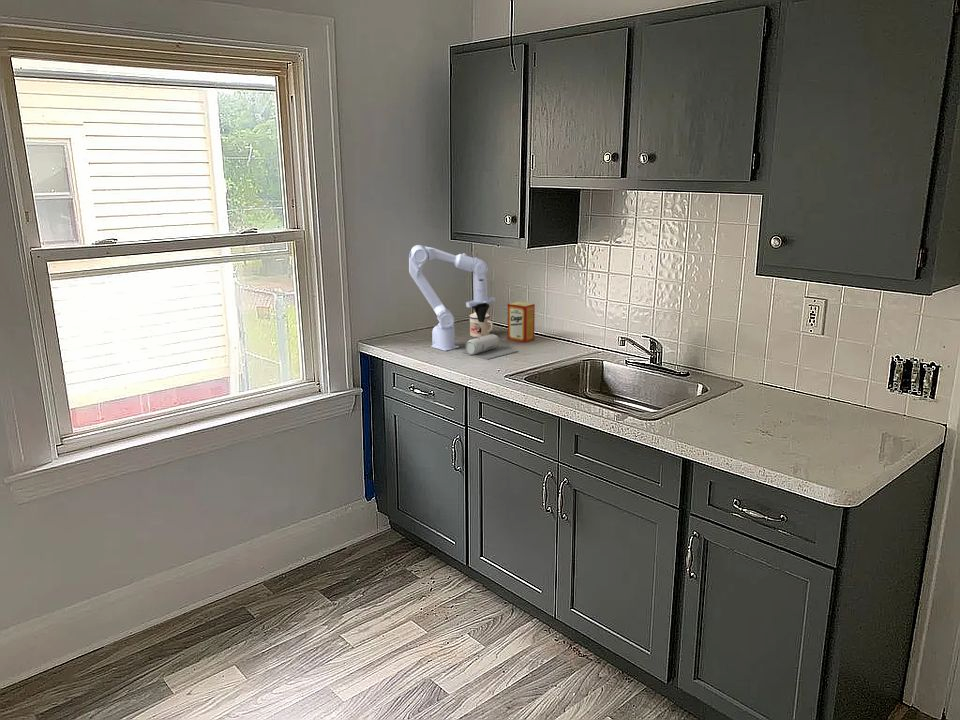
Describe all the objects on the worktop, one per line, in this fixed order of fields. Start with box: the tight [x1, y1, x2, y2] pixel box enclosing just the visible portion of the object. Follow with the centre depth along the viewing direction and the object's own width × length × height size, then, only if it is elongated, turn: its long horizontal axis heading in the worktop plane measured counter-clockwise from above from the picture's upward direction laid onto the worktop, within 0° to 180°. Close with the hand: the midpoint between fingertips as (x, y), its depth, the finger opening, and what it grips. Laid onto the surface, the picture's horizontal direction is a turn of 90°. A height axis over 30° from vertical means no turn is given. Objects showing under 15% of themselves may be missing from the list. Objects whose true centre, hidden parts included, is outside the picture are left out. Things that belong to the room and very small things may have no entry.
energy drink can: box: [465, 333, 501, 356], centre depth 300 cm, size 6×6×15 cm
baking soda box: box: [507, 301, 536, 344], centre depth 318 cm, size 10×6×16 cm
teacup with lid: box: [468, 311, 494, 338], centre depth 326 cm, size 12×9×12 cm
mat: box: [461, 345, 519, 361], centre depth 300 cm, size 15×17×1 cm
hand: (481, 321), depth 307 cm, fingers closed
